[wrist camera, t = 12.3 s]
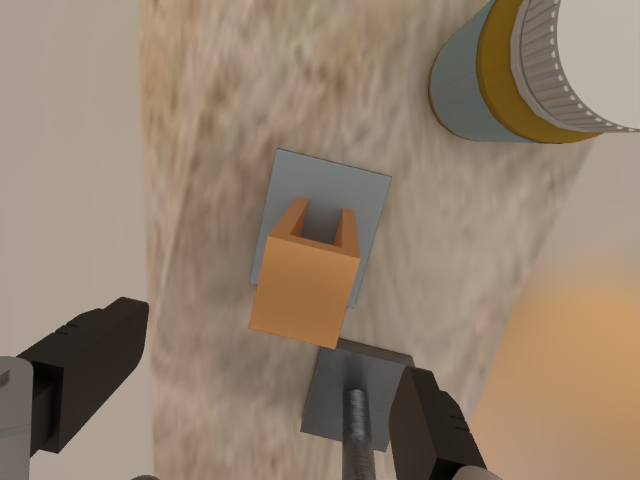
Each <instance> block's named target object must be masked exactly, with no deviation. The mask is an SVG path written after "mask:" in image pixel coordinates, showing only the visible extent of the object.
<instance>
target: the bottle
mask: <svg viewBox="0 0 640 480" xmlns="http://www.w3.org/2000/svg"><path fill="white" fill-rule="evenodd" d="M429 97H430V101H431V106H432V109H433V111H434V113H435V115H436V116H437V118H438V120H439V121H440V123H441V124H442V125H443V126H444V127H445V128H447V129H448V130H449V131H450V132H452V133H453V134H455V135H457V136H460V137H462V138H465V139H468V140H473V141H493V142H521V143H555V144H562V143H573V142H578V141H582V140H585V139H589V138H592V137H596V136H599V135H601V134H603V133H609V132H611V133H612V132H640V0H491V1H490V2H489V3H488V4H487V5H486V6H484V7H483V8H482V9H481V10H480V11H479V12H478V13H477V14H476V15H475V16H474V17H473V18H471V19H470V20H469V21H468V22H467V23H466V24H465V25H464V26H463V27H462V28H461V29H460V30H459V31H457V32H456V33H455V34H454V35H453V36H452V37H451V38H450V39H449V41H448V42H447V43H446V44H445V46H444V47H443V48H442V49H441V51H440V52H439V53H438V55H437V57H436V59H435V62H434V64H433V67H432V69H431V73H430V79H429Z"/></svg>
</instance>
